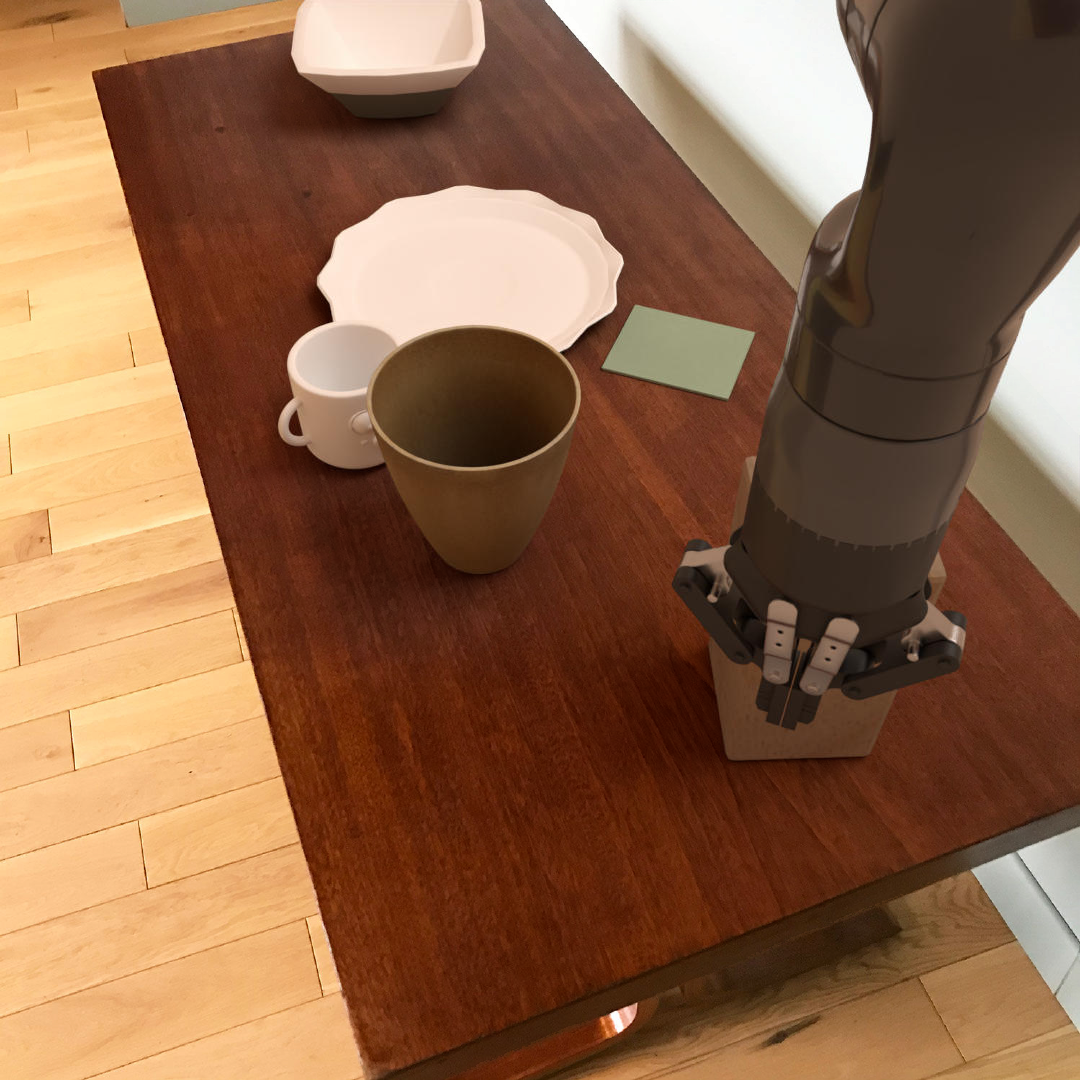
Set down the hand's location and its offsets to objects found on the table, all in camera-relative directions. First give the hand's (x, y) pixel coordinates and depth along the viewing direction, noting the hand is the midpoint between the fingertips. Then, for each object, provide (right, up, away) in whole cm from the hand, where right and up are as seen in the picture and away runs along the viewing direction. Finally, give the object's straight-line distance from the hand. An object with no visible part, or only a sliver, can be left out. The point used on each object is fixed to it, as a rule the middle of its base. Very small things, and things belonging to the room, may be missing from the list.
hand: (784, 711), depth 55 cm
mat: (+1, +26, +50) cm, 56 cm away
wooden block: (+6, -3, +25) cm, 26 cm away
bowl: (-30, +63, +82) cm, 107 cm away
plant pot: (-17, +8, +35) cm, 40 cm away
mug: (-28, +17, +42) cm, 53 cm away
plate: (-19, +33, +56) cm, 68 cm away
